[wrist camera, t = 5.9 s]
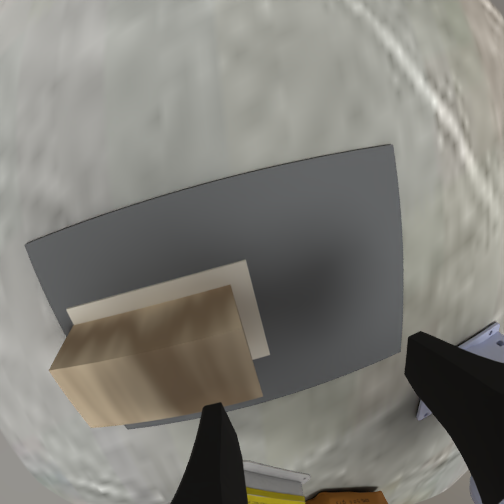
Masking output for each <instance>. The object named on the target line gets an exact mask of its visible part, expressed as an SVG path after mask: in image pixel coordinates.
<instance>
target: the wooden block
mask: <svg viewBox="0 0 504 504" xmlns="http://www.w3.org/2000/svg"><path fill="white" fill-rule="evenodd" d="M49 371H50V373H51V374H52V376H53V377H54V379H55V380H56V382H57V383H58V385H59V386H60V388H61V389H62V390H63V392H64V393H65V395H66V396H67V397H68V399H69V400H70V402H71V403H72V404H73V406H74V407H75V408H76V409H77V411H78V412H79V413H80V415H81V416H82V417H83V418H84V420H85V421H86V422H87V423H88V425H89V426H90V427H91V428H96V427H107V426H116V425H125V424H133V423H140V422H147V421H154V420H160V419H166V418H172V417H177V416H183V415H188V414H193V413H198V412H202V408H203V407H204V406H206V405H210V404H214V403H219V402H222V405H223V407H225V406H229V405H233V404H237V403H241V402H245V401H248V400H252V399H256V398H259V397H263V394H262V390H261V387H260V384H259V380H258V377H257V373H256V370H255V366H254V363H253V360H252V356H251V353H250V349H249V346H248V342H247V339H246V336H245V332H244V329H243V326H242V322H241V319H240V315H239V312H238V309H237V305H236V302H235V298H234V295H233V291H232V288H231V284H230V285H227V286H223V287H219V288H216V289H212V290H208V291H205V292H201V293H197V294H194V295H190V296H186V297H183V298H179V299H175V300H171V301H167V302H164V303H160V304H156V305H152V306H148V307H144V308H141V309H137V310H133V311H129V312H125V313H121V314H117V315H113V316H109V317H105V318H101V319H97V320H93V321H89V322H85V323H81V324H77V325H73V327H72V329H71V330H70V332H69V334H68V336H67V338H66V339H65V341H64V343H63V345H62V347H61V348H60V350H59V352H58V354H57V356H56V358H55V360H54V362H53V363H52V365H51V367H50V369H49Z"/></svg>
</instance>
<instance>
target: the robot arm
mask: <svg viewBox="0 0 504 504" xmlns="http://www.w3.org/2000/svg"><path fill="white" fill-rule="evenodd" d="M499 327H500V324H499V323H497V322H496V323H494V324H493V325H491V326H490V327H488V328H487V329H485V330H484V331H482V332H481V333H479V334H478V335H476V336H475V337H473V338H471V339H470V340H468V341H467V342H465V343H463V344H462V345H460V346H458V347H457V346H454V345H452V344H450V343H447V342H445V341H443V340H440V339H438V338H436V337H434V336H431V335H429V334H426V333H424V332H421V331H420V332H418V333H416V334H413V335H411V336H409V337H408V345H407V355H406V365H405V373H404V374H405V376H406V378H407V379H408V381H409V383H410V384H411V386H412V388H413V389H414V391H415V392H416V394H417V395H418V396H419V398H420V399H421V400H420V404H419V408H418V413H417V417H416V418H417V420H422V419H424V418H425V417H427V416H429V415H431V414H432V413H433V415H434V416H435V417H436V418H437V420H438V421H439V422H440V423H441V424H442V426H443V427H444V428H445V429H446V431H447V432H448V434H449V435H450V436H451V438H452V440H453V441H454V443H455V445H456V446H457V448H458V450H459V451H460V453H461V455H462V457H463V459H464V461H465V463H466V464H467V466H468V469H469V470H470V473H471V477H470V486H469V490H470V494H471V497H472V500H473V501H474V503H475V504H504V335H502V334H501V333H500V332H498V331H499ZM171 504H248V498H247V490H246V483H245V475H244V467H243V459H242V454H241V450H240V446H239V442H238V438H237V434H236V432H235V430H234V428H233V426H232V424H231V422H230V420H229V417H228V415H227V413H226V411H225V409H224V407H223V405H222V402H219V403H214V404H210V405H206V406H204V407H203V408H202V414H201V419H200V424H199V428H198V432H197V436H196V440H195V443H194V446H193V450H192V453H191V456H190V459H189V462H188V465H187V467H186V470H185V473H184V475H183V478H182V480H181V483H180V485H179V487H178V489H177V492H176V494H175V496H174V498H173V500H172V502H171Z"/></svg>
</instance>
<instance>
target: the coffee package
mask: <svg viewBox="0 0 504 504" xmlns="http://www.w3.org/2000/svg"><path fill="white" fill-rule="evenodd" d="M305 504H388V503H387V501H386V499H385V497H384V495H383V493H382V491H377V492H364V493H358V492H321V493H319V494H318V495H317V496H316V497H315V498H313V499H310V500H308V501H306V502H305Z"/></svg>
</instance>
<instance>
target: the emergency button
mask: <svg viewBox="0 0 504 504" xmlns="http://www.w3.org/2000/svg"><path fill="white" fill-rule="evenodd" d="M243 467H244V475H245V483H246V490H247V498H248V504H305V497H304V495H303V490H302V484H304V483H305V482H307V481H308V480H309V479H310V477H311V476H310V475H309V474H305V473H300V472H295V471H290V470H286V469H281V468H277V467H273V466H268V465H264V464H260V463H257V462H253V461H247V460H244V461H243Z"/></svg>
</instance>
